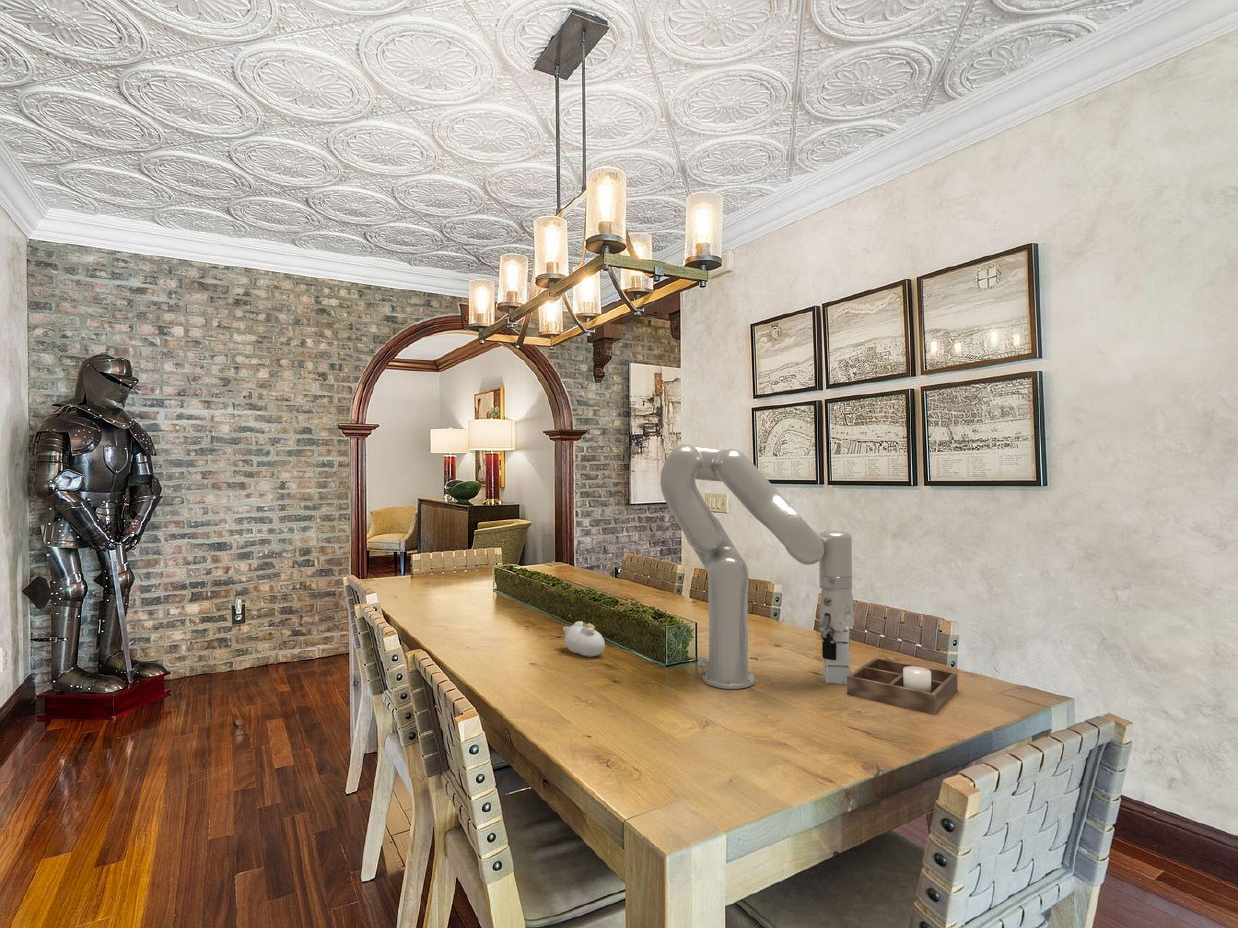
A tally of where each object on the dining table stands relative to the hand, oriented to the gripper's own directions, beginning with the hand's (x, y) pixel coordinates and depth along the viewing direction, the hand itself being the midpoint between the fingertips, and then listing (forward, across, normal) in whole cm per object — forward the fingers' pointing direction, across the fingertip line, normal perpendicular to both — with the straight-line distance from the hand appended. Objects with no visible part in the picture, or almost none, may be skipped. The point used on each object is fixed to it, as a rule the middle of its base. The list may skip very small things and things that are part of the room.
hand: (836, 654), depth 154 cm
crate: (+7, +1, -15) cm, 16 cm away
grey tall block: (+7, 0, 0) cm, 7 cm away
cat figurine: (+7, -21, +65) cm, 69 cm away
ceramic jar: (+6, -3, -19) cm, 21 cm away
